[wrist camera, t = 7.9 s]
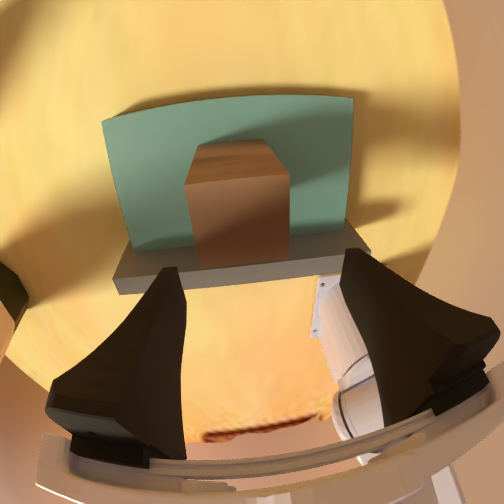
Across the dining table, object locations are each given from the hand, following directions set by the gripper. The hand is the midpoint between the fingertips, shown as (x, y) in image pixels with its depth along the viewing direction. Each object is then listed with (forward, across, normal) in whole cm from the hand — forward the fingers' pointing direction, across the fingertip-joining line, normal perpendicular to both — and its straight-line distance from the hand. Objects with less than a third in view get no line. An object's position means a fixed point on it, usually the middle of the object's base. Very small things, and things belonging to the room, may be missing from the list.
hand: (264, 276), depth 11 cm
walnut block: (+8, +1, -2) cm, 8 cm away
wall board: (+10, +1, -1) cm, 10 cm away
